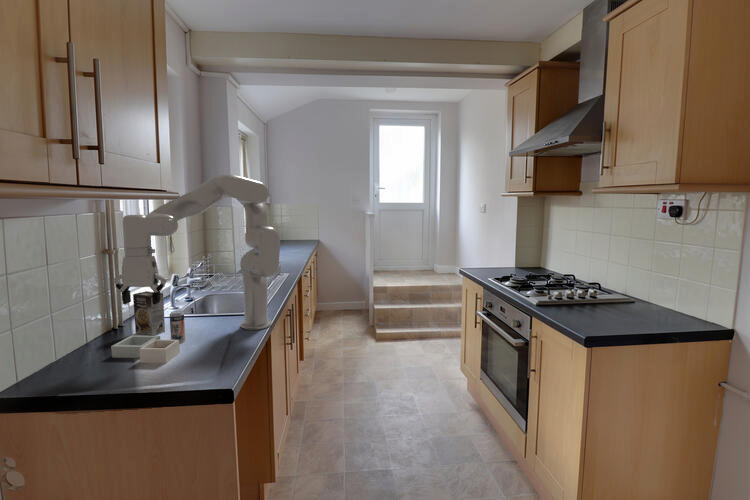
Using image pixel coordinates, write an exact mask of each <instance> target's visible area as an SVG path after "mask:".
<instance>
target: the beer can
mask: <svg viewBox="0 0 750 500" xmlns="http://www.w3.org/2000/svg"><path fill="white" fill-rule="evenodd" d="M169 328H170V329H169V330H170V331H169V332H170V340H179V345H180V344H182V343H185V342H186V325H185V313H184V312H183V311H182V310H173V311H171V312H170V313H169Z"/></svg>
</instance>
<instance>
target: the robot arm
mask: <svg viewBox="0 0 750 500" xmlns="http://www.w3.org/2000/svg"><path fill="white" fill-rule="evenodd" d="M269 192H270V191H269V188H268V187H267V186H266V184H264V183H263V182H261V181H258V180H255V179H250V178H247V177H243V176H240V175H235V174H230V173H229V174H218V175H214V176H212V177H211V178H209V179H208V180H206V181H205V182H203V183H202V184H199V186H197V187H195V188H193V189H192V190H190V191H188V192H187V193H184V194H182V195H181V196H178V197H179V198H178V197H176V198H177V199H176V198H173V199H172V200H170V201H168V202H166V203H164V204H162V205H160V206H158V207H157V208H155V209H154V210H152V211H150V212H149V213H148V214H126V215H124V216H123V217H122V229H123V230H122V231H123V243H124V244H123V245H124V246H123V247H124V256H123V257H122V261H121V263H122V264H121V265H122V266H121V273H120V275H118V276H116V277H114V278H113V279H112V282H113V283H114V285H115V287H116V288H117V289H118V290H119V292H120V293H121V298H122V299H121V300H122V304H123V305H127V304H129V303H131V302H132V297H131V290H129V289H130V288H150V289H151V290H152V292H153V293H152V300H153V304H157V303H159V302H160V293H161V291H162V290H163V288H165V287H166V284H167V282H168V278H167V277H165V276H163V275H161V274H160V273H159V267H158V263H157V260H156V256H155V255H153V254H155V253H156V249H155V248H152V236H153V237H154V236H156V237H169V236H172V235H174V234H175V233H176V232H177V230H178V228H179V222H178V221H181V220H182V219H185V218H189V217H193V216H196V215H200V214H202V213H205V212H206V211H207V210H209V209H211V208H212V207H214V206H215V205H216V204H218V203H219V202H221V201H222V200H224V199H226V198H233V199H236V200H237V202H239V203H240V204H241V205H242V207H243V208H244V211H245V217H246V218H245V221H246V222H245V235H244V237H245V238H244V240H245V244H246V245H247V246H248V247H250V248H253V249H258V251H254V250H253V251H248V252H246V253H244V254H243V255H242V256H241V258H240V262H239V265H240V272H241V276H242V284H243V287H242V289H243V308H244V309H243V311H244V312H243V313H244V321H241V323H240V327H241V328H242V329H243V328H244V330H249V331H251V330H252V331H253V330H255V331H256V330H257V331H258V330H262V329H266V328H269V327H270V326H272V324H273V322H272V320H271V319H269V312H268V311H269V310H268V307H269V306H268V282H267V278H270V277H272V276H275V274H276V273H277V271H278V268H279V265H280V254H281V253H280V252H281V238H280V233H279V232H278V231H277V229H276V228H274V227H272V226H268V219H269V218H268V217H269V215H268V209H267V207H266V205H265V202H266V201H267V200H268V198H269V196H270V195H269V194H270V193H269ZM159 283H160V284H159Z"/></svg>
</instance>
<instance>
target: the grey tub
mask: <svg viewBox="0 0 750 500" xmlns="http://www.w3.org/2000/svg"><path fill="white" fill-rule="evenodd" d="M153 340H161V335H155V336H147V335H134V334H133V335H129V336H128V337H125V338H124V339H122V340H121V341H119V342H116V343H114V344H113V345H111V346H110V347H111V357H112V358H114V359H115V358H122V359H123V358H124V359H129V358H131V359H135V358H136V359H140V350H139V349H140V348H142V347H143V346H145V345H147V344H148V343H150V342H151V341H153Z"/></svg>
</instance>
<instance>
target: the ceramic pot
mask: <svg viewBox="0 0 750 500" xmlns="http://www.w3.org/2000/svg"><path fill="white" fill-rule="evenodd" d="M166 345H167V347H166V348H155V347H156V346H166ZM180 349H181V348H180V344H179V340H171V339H160V340H153V341H151V342H150V343H148V344H147V345H145V346H143V347H142V348H140V349H139V350H140V358H139V359H140V360H139V363H140V364H167V363H169V362H170V361H172V360H173V359H174V358H175V357H177V356H178V355H180V354H181V353H180V352H181V350H180Z"/></svg>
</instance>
